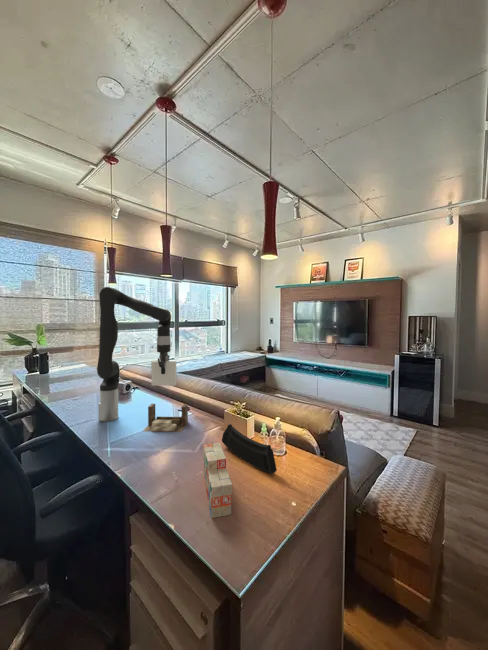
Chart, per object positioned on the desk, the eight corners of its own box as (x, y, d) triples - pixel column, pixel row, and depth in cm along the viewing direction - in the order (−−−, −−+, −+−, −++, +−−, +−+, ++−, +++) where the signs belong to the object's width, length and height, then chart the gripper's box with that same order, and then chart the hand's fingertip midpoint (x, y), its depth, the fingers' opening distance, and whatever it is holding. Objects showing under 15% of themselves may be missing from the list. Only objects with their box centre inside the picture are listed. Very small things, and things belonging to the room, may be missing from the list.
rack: (142, 433, 135) (142, 411, 135) (152, 422, 149) (152, 402, 149) (181, 433, 134) (181, 412, 134) (188, 422, 148) (188, 403, 148)
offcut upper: (152, 426, 136) (151, 422, 136) (154, 423, 140) (154, 419, 140) (169, 426, 136) (169, 422, 136) (171, 424, 139) (171, 420, 139)
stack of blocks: (232, 515, 79) (232, 474, 79) (210, 519, 78) (210, 477, 77) (220, 474, 100) (220, 441, 100) (203, 476, 98) (203, 443, 98)
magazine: (282, 453, 98) (232, 409, 119) (276, 456, 96) (227, 410, 117) (271, 490, 102) (226, 441, 123) (265, 494, 100) (220, 443, 121)
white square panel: (151, 385, 155) (151, 361, 154) (152, 384, 157) (152, 360, 156) (175, 385, 154) (175, 361, 154) (176, 384, 156) (176, 361, 156)
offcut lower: (150, 430, 136) (150, 426, 136) (153, 427, 140) (153, 423, 140) (174, 430, 135) (174, 427, 135) (176, 427, 139) (176, 423, 139)
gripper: (161, 342, 162) (161, 371, 162) (152, 344, 148) (152, 376, 148) (173, 342, 161) (173, 371, 162) (166, 345, 148) (166, 376, 148)
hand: (163, 373), depth 155 cm, fingers closed on white square panel, 2 cm apart
